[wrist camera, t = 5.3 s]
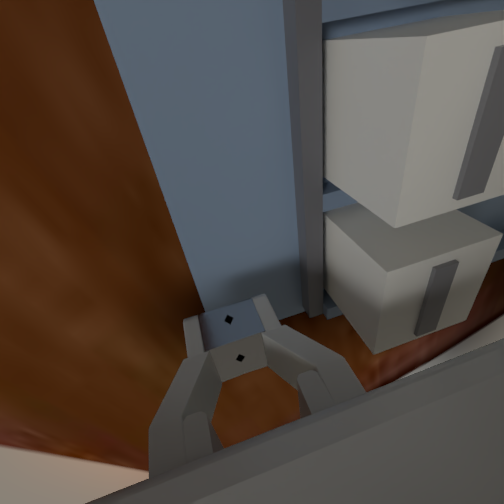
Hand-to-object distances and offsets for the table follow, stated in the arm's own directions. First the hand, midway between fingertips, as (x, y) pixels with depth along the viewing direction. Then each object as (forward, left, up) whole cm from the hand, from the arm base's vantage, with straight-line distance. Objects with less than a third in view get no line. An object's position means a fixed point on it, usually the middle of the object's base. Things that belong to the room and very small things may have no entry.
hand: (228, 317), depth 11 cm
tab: (+7, 0, -2) cm, 7 cm away
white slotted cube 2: (+7, +6, -2) cm, 9 cm away
